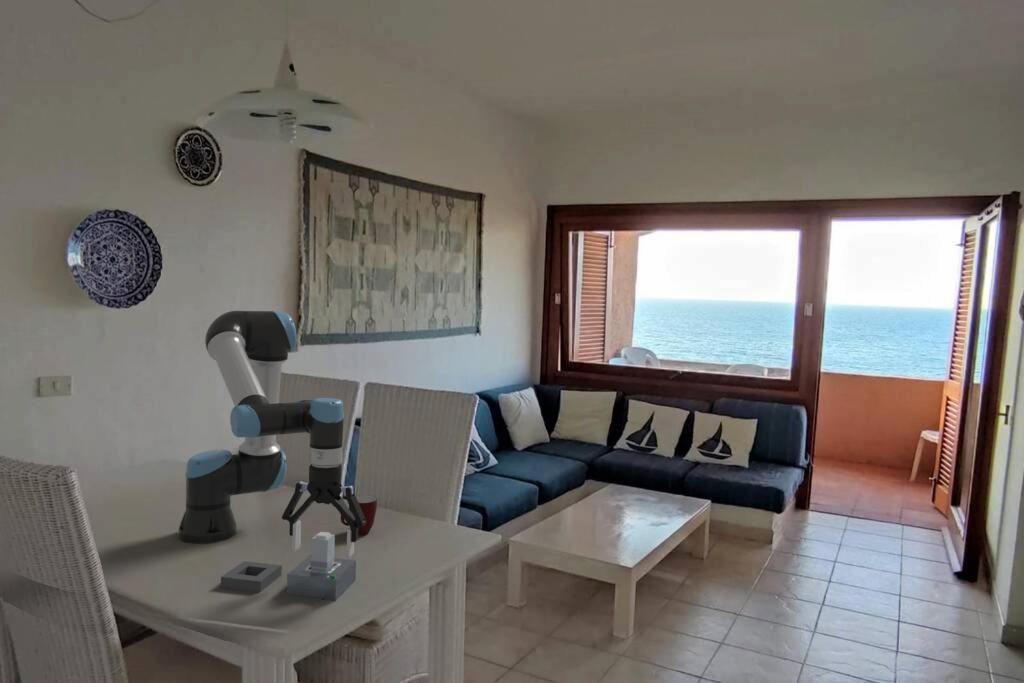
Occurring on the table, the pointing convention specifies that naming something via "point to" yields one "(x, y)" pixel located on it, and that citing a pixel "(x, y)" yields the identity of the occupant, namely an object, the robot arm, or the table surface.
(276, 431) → the robot arm
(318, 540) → the plug
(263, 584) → the holster
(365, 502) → the mug
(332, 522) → the table surface
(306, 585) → the port
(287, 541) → the table surface
